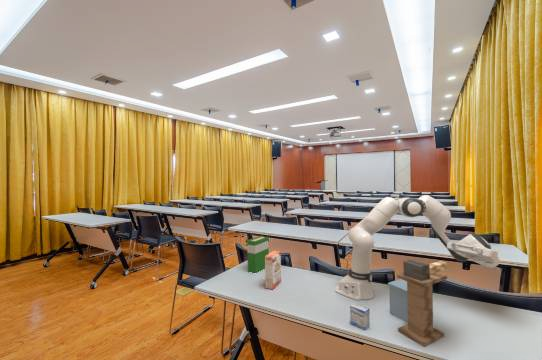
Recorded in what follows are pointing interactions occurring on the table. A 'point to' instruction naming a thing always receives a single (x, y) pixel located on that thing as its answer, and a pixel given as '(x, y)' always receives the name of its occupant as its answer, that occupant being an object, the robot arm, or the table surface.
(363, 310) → the medicine box
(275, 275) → the cracker box
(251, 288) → the table surface
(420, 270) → the mallet
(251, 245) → the hardback book
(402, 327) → the stand
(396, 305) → the grey-blue block
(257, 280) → the table surface
